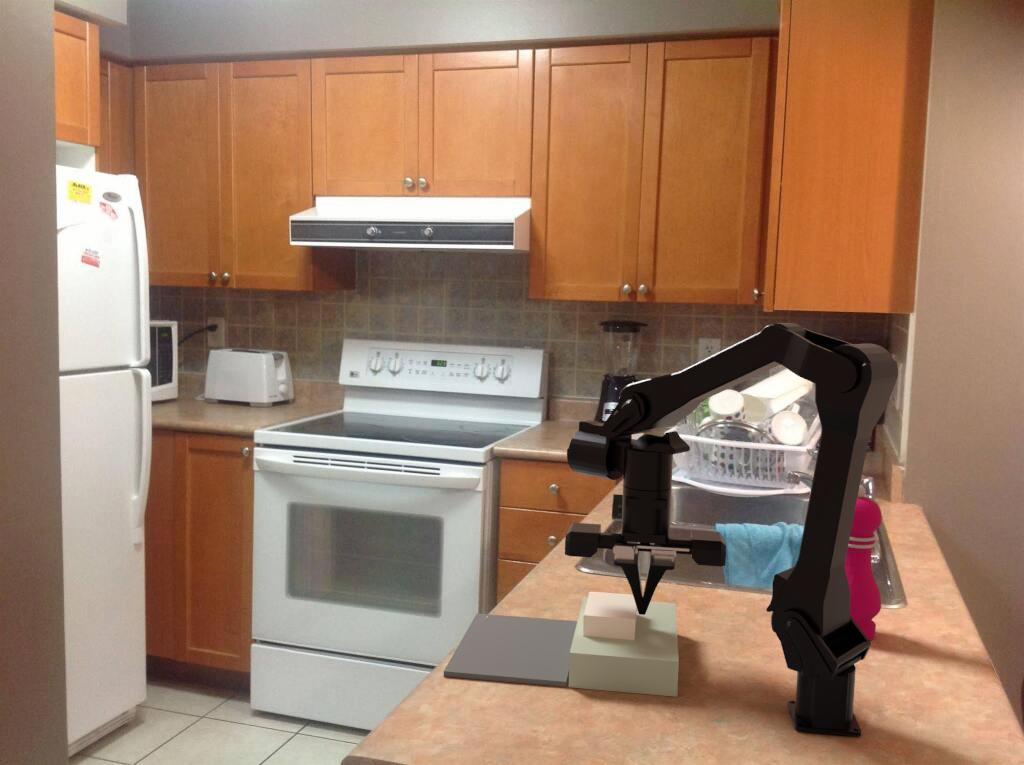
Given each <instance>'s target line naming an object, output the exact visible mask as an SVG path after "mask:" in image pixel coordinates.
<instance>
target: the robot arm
mask: <svg viewBox="0 0 1024 765" xmlns="http://www.w3.org/2000/svg"><path fill="white" fill-rule="evenodd" d="M781 365H782V366H783V368H784V367H785V368H786V369H788V370H789V371H790V372H792V373H793V374H795V375H796V376H797V377H799V378H802V379H804V380H807V381H809V382H811V383H813V384H814V404H815V408H816V411H817V415H818V418H819V419H818V420H819V423H820V426H821V427H820V432H821V433H820V438H819V443H818V449H817V455H816V460H815V465H814V466H815V467H814V470H813V475H812V476H813V477H812V483H811V486H810V492H809V499H808V504H807V510H806V514H805V519H804V520H805V521H804V525H803V532H802V535H801V536H802V537H801V543H800V547H799V553H798V558H797V561H796V563H795V564H794V566H792V567H790V568H788V569H785V570H783V571H781V572H778V573H776V574H774V576H773V579H772V595H771V600H770V603H769V604H768V606H767V608H766V612H767V613H771V616H770V619H771V620H770V624H771V630H772V632H773V633H775V635H776V636H777V639H778V640H779V641H780V646H781V649H782V652H783V657H784V660H785V663H786V667H787V669H788V670H792V671H795V672H797V674H796V689H795V691H796V693H795V700H791V699H790V700H788V701H787V708H788V712H789V714H790V717H791V718H790V719H791V720H792V723H793V726H794V729H795V730H796V731H799V732H807V733H818V734H827V735H839V736H852V737H861V736H862V729H861V727H860V725H859V722H858V721H857V720H858V719H856V716H855V713H854V702H855V701H854V698H855V686H856V682H855V681H856V671H857V670H856V668H857V667H856V665H855V664H856V663H858V662H860V661H863V660H865V659H866V656H867V654H868V653H869V650H870V648H871V646H872V642H871V640H869V639H868V638H867V636H866V635H865V634H864V632H863V631H862V630H861V629H860V627H859V626H858V625H857V623H856V622H855V621H854V619H853V618H852V617H851V615H850V587H849V583H848V579H847V575H846V571H845V559H846V554H847V549H848V544H849V539H850V533H851V528H852V523H853V518H854V513H855V507H856V502H857V497H858V492H859V487H860V485H861V482H862V475H863V470H864V466H865V461H866V454H867V449H868V445H869V439H870V436H871V434H872V432H873V430H874V428H875V427H876V425H877V423H878V422H879V420H880V419H881V417H882V416H883V414H884V412H885V410H886V408H887V406H888V403H889V401H890V399H891V396H892V393H893V392H894V388H895V386H896V383H897V379H898V374H899V367H898V363H897V361H896V360H895V358H894V357H893V355H892V354H891V353H890V352H889V351H888V350H887V349H886V348H884V347H883V346H881V345H878V344H877V343H876V344H875V343H854V344H853V343H851V342H848V341H845V340H843V339H838V338H835V337H833V336H830V335H829V336H828V335H826V334H822V333H819V332H815V331H813V330H811V329H807V328H805V327H802V325H800V324H799V323H798V324H797V323H793V322H775V323H771V324H767V325H766V326H765V327H764V328H762V330H760V331H759V332H757V333H754V334H752V335H750V336H749V337H746V338H745V339H743V340H741V341H738V342H737V343H735V344H732V345H731V346H728V347H727V348H724V349H722V350H721V351H718V352H716V353H715V354H712V355H710V356H708V357H706V358H704V359H702V360H700V361H698V362H696V363H694V364H692V365H690V366H687V367H686V368H684V369H682V370H679V371H677V372H676V371H675V372H673V373H669V374H664V375H659V376H655V377H651V378H646V379H643V380H639V381H636V382H634V383H633V382H632V383H629V384H626V385H625V386H624V387H623V388H622V389H621V390H620V392H619V397H618V402H617V405H616V406H615V408H614V409H613V410H612V411H611V413H610V414H609V415H608V417H607V419H606V421H605V422H603V423H602V422H599V421H597V420H592V419H586V420H581V421H579V422H578V430H577V431H576V432H575V433H574V435H573V436H572V438H571V439H570V442H569V446H568V447H567V449H566V460H567V464H568V467H569V468H570V470H572V472H574V473H576V474H580V475H585V476H589V477H590V476H591V477H597V478H601V479H607V480H611V481H616V480H618V479H621V478H623V479H622V494H617V493H615V494H614V493H613V494H612V505H611V507H612V508H611V519H612V521H613V522H614V521H617V522H621V531H620V532H621V533H614V532H613V533H612V532H611V533H610V532H602V524H601V523H598V524H596V523H587V522H586V523H584V522H572V523H571V524H570V526H569V527H568V529H567V531H566V534H565V540H564V555H565V556H568V557H578V558H592V557H593V556H594V555H595V554H596V553H597V552H598V550H599V549H601V550H603V549H604V550H612V553H613V560H612V565H613V566H614V567H620V568H621V569H622V571H623V574H624V576H625V578H626V580H627V582H628V584H629V587H630V590H631V593H632V595H633V597H634V600H635V603H636V606H637V610H638V613H639V614H640V615H645V614H646V611H647V609H648V606H649V604H650V601H651V602H652V599H653V596H654V593H655V591H656V589H657V587H658V585H659V583H660V582H661V580H662V579H663V576H664V575H665V573H666V571H673V570H675V569H676V557H677V554H679V555H690V556H691V559H692V560H693V561H694V562H695V563H696V565H698V566H708V567H724V566H725V567H726V563H727V562H726V559H727V545H726V541H725V537H724V536H723V534H721V532H720V531H712V530H711V531H707V530H694V529H693V530H692V529H691V530H690V538H689V537H673V536H670V533H671V507H672V506H671V505H672V504H671V503H672V485H673V484H672V483H673V479H672V478H673V460H674V455H678V454H682V453H687V452H689V451H690V450H691V447H690V445H689V444H688V443H687V442H686V441H685V440H684V439H683V438H681V436H680V434H679V432H678V431H675V430H674V431H669V432H665V433H663V434H664V435H657V434H648V433H650V432H652V431H654V430H660V429H666V428H671V427H674V426H676V425H677V424H678V423H679V422H681V421H682V420H684V419H685V418H687V417H688V416H689V415H691V414H692V413H693V412H694V411H695V410H696V409H697V408H698V407H699V405H700V404H702V403H703V402H705V401H706V400H707V399H708V398H711V397H713V396H716V395H718V394H719V393H722V392H724V391H726V390H728V389H730V388H733V387H735V386H737V385H739V384H741V383H744V382H746V381H748V380H750V379H753V378H754V377H756V376H759V375H761V374H763V373H765V372H767V371H770V370H772V369H774V368H776V367H778V366H781ZM639 433H644V435H642V436H641V437H639V438H638V439H637V440H636V439H632V435H633V434H639ZM645 433H646V434H645ZM622 476H623V477H622ZM640 552H649V554H650V555H649V561H648V566H647V573H646V578H645V584H644V589H643V586H642V585H643V584H642V575H641V564H640V563H641V562H640V561H641V560H640Z"/></svg>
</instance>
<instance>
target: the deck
mask: <svg viewBox="0 0 1024 765" xmlns="http://www.w3.org/2000/svg"><path fill="white" fill-rule="evenodd" d="M587 599H588V596H583V597H582V601H581V606H580V610H579V613H578V618H577V620H576V621H577V625H576V629H575V633H574V637H573V641H572V645H571V649H570V658H569V676H568V688H573V689H583V690H585V689H587V690H595V691H596V690H597V691H606V692H607V691H608V692H609V691H610V692H619V693H631V694H641V695H642V694H643V695H652V696H665V697H676V698H677V697H678V689H679V687H678V686H679V663H680V660H679V642H678V641H679V639H678V624H677V623H678V622H677V608H676V607H677V605H676V603H675V602H662V601H652V600H651V601H650V604H649V606H648V609H647V611H646V614H645V615H640V614H639V613H638V610H637V615H636V628H635V640H627V639H615V638H602V637H590V636H583V621H584V612H585V608H586V604H587Z"/></svg>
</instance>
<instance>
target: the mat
mask: <svg viewBox="0 0 1024 765" xmlns="http://www.w3.org/2000/svg"><path fill="white" fill-rule="evenodd" d="M487 616H488V617H487ZM486 617H487V618H486ZM577 621H578V620H569V619H568V620H567V619H557V618H556V619H554V618H542V617H541V618H540V617H528V616H514V615H505V614H504V615H501V614H490V613H489V614H488V613H476V614H475V616H474V617H473V619H472V621H471V623H470V624H469V626H468V628H467V630H466V631H465V633H464V635H463V637H462V638H461V640H460V642H459V644H458V646H457V648H456V649H455V651H454V652H453V654H452V655H451V656H452V657H450V660H449V662H448V663H447V664H446V666H445V667H444V670H443V677H446V678H459V679H469V680H470V679H471V680H480V681H493V682H505V683H516V684H528V685H538V686H551V687H561V688H566V687H567V685H568V684H567V683H568V681H569V658H570V649H571V645H572V641H573V637H574V633H575V629H576V625H577Z"/></svg>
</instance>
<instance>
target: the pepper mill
mask: <svg viewBox="0 0 1024 765" xmlns="http://www.w3.org/2000/svg"><path fill="white" fill-rule="evenodd" d="M866 492H867V489H866V488H865V487H864V486H863V485H861V484H860V487H859V492H858V497H857V502H856V507H855V513H854V518H853V523H852V528H851V533H850V539H849V544H848V549H847V554H846V559H845V571H846V575H847V579H848V583H849V587H850V615H851V617H852V618H853V619H854V621H855V622H856V623H857V625H858V626H859V627H860V629H861V630H862V631H863V632H864V634H865V635H866V636H867V638H868V639H869V640H870V641H872V640H874V639H875V638H876V628H877V627H876V623H875V621H874V620H873V619H874V618H875V617H876V616H878V614H879V613H880V612H881V609H882V598H881V594H880V589H879V586H878V584H877V581H876V578H875V576H874V573H873V567H872V553H873V552H872V550H873V548H874V547H876V546H877V543H876V539H877V536H876V534H875V532H876V531H877V530H878V529H879V528H880V526H881V524H882V518H883V516H882V511H881V509H880V507H879V505H878V504H877V502H875V501H874V500H872V499H871V498H868V497H865V496H866V494H867V493H866Z"/></svg>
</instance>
